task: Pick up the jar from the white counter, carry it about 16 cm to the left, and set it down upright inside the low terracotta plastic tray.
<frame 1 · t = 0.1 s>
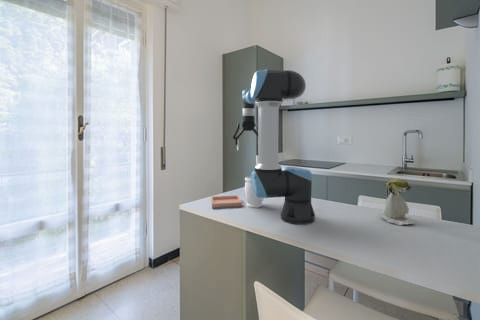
hand: (248, 150, 156), 28 cm above the counter, tool pointing down, fingers open, 13 cm apart
tray: (225, 203, 137), on the counter
jar: (254, 205, 133), on the counter
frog: (397, 221, 109), on the counter
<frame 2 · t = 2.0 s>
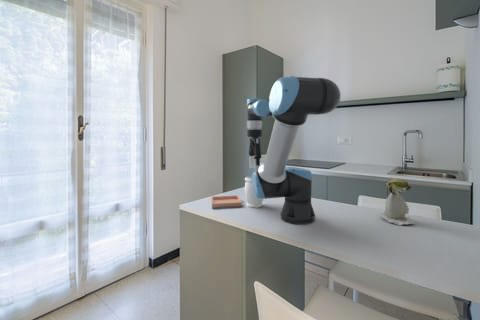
hand: (254, 169, 131), 19 cm above the counter, tool pointing down, fingers open, 13 cm apart
nothing on the counter moved.
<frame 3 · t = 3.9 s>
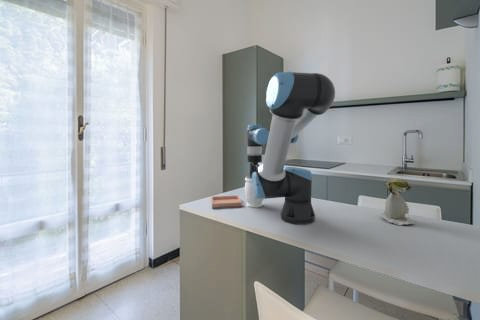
hand: (254, 195, 133), 5 cm above the counter, tool pointing down, fingers closed on jar, 10 cm apart
jar: (254, 205, 133), on the counter, touching gripper
everything else where it was.
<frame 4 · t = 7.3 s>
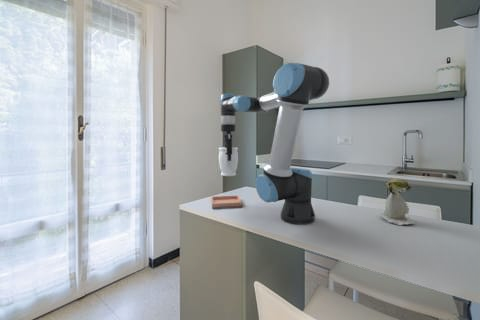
hand: (228, 165, 134), 21 cm above the counter, tool pointing down, fingers closed on jar, 10 cm apart
jar: (228, 175, 135), point 16 cm above the counter, touching gripper
everything else where it was.
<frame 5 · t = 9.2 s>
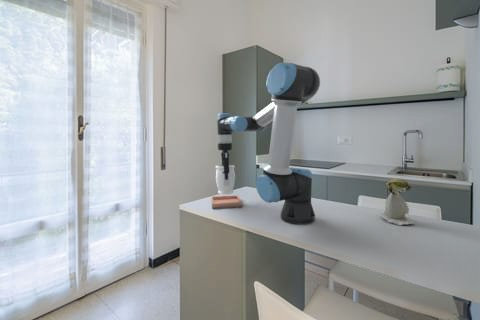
hand: (225, 183, 136), 11 cm above the counter, tool pointing down, fingers closed on jar, 10 cm apart
jar: (225, 193, 136), point 6 cm above the counter, touching gripper
everything else where it was.
when the fingers open (7 cm above the counter, at t = 10.6 s): jar drops 1 cm, resting on tray.
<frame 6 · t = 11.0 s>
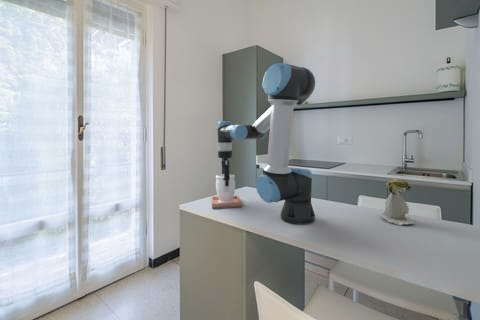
hand: (225, 189, 136), 8 cm above the counter, tool pointing down, fingers open, 13 cm apart
jar: (225, 202, 137), point 1 cm above the counter, touching tray
everything else where it was.
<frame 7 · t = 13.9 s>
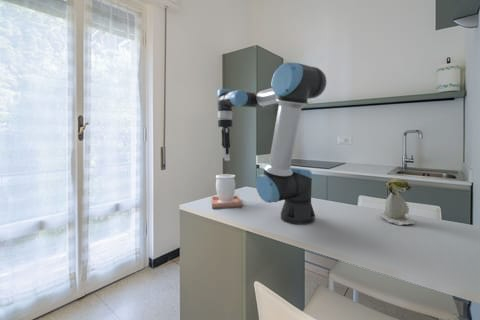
hand: (225, 159, 134), 25 cm above the counter, tool pointing down, fingers open, 13 cm apart
nothing on the counter moved.
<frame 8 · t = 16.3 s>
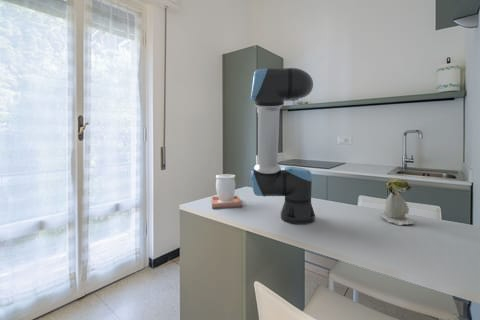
hand: (263, 149, 148), 29 cm above the counter, tool pointing down, fingers open, 13 cm apart
nothing on the counter moved.
at the end: jar inside the target area on the tray (0.2 cm from its centre), point 0.6 cm above the tray's base; jar tilted 0°; the gripper is holding nothing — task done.
